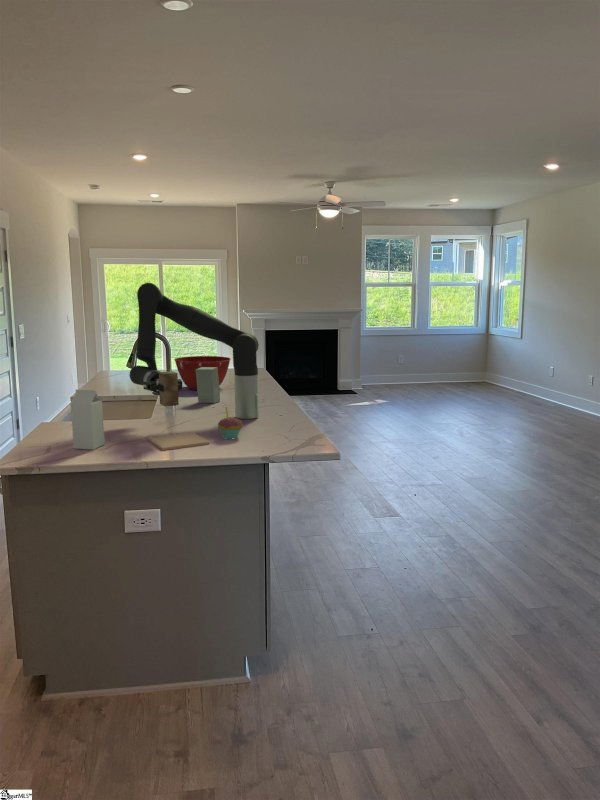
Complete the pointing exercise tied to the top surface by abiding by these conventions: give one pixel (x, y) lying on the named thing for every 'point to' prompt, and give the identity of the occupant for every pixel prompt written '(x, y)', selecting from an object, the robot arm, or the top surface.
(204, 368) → the skincare box
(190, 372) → the mixing bowl
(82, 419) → the milk carton
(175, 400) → the walnut block
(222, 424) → the cupcake
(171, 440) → the wooden square board
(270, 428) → the top surface
